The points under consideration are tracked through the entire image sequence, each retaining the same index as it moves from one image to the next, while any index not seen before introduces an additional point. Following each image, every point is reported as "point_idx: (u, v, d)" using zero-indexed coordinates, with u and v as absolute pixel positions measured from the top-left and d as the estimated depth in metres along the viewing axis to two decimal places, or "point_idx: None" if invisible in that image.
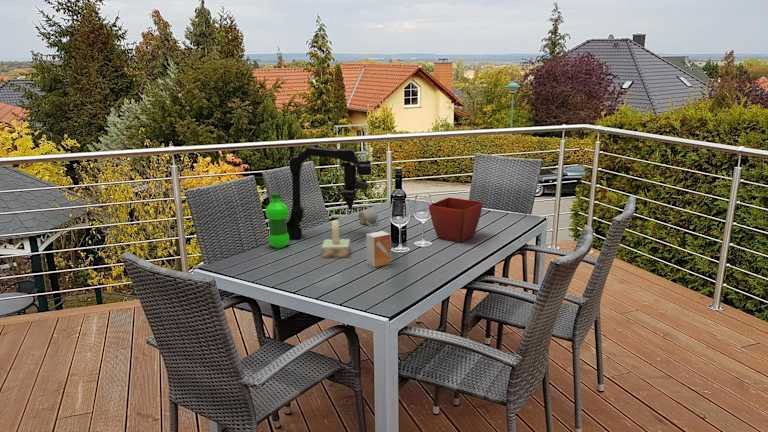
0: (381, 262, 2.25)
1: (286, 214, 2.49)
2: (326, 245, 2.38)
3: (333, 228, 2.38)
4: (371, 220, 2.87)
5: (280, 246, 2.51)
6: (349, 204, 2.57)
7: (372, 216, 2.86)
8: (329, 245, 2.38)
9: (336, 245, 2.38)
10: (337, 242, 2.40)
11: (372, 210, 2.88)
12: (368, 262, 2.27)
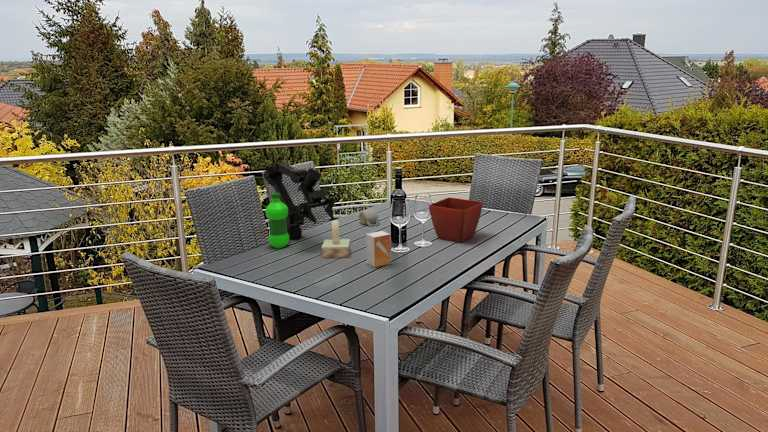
0: (381, 262, 2.25)
1: (286, 214, 2.49)
2: (326, 245, 2.38)
3: (333, 228, 2.38)
4: (372, 220, 2.86)
5: (280, 246, 2.51)
6: (311, 218, 2.42)
7: (373, 216, 2.86)
8: (329, 245, 2.38)
9: (336, 245, 2.38)
10: (337, 242, 2.40)
11: (373, 210, 2.87)
12: (368, 262, 2.27)
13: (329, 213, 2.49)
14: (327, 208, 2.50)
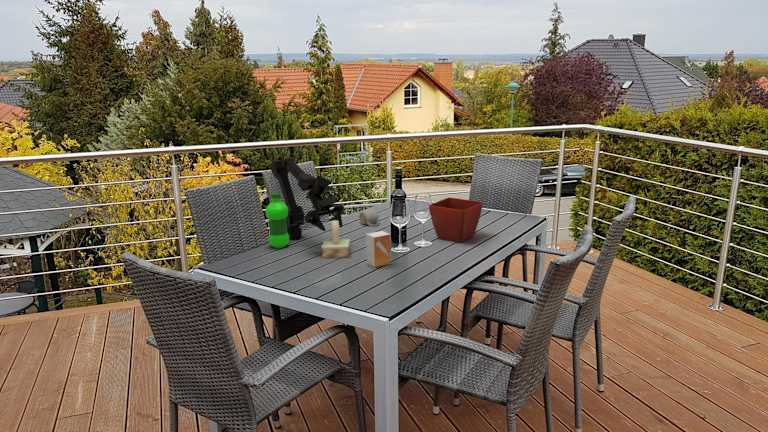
0: (381, 262, 2.25)
1: (286, 214, 2.49)
2: (326, 245, 2.38)
3: (333, 228, 2.38)
4: (372, 220, 2.86)
5: (280, 246, 2.51)
6: (319, 226, 2.38)
7: (373, 216, 2.85)
8: (329, 245, 2.38)
9: (336, 245, 2.38)
10: (337, 242, 2.40)
11: (373, 210, 2.87)
12: (368, 262, 2.27)
13: None
14: (336, 216, 2.46)
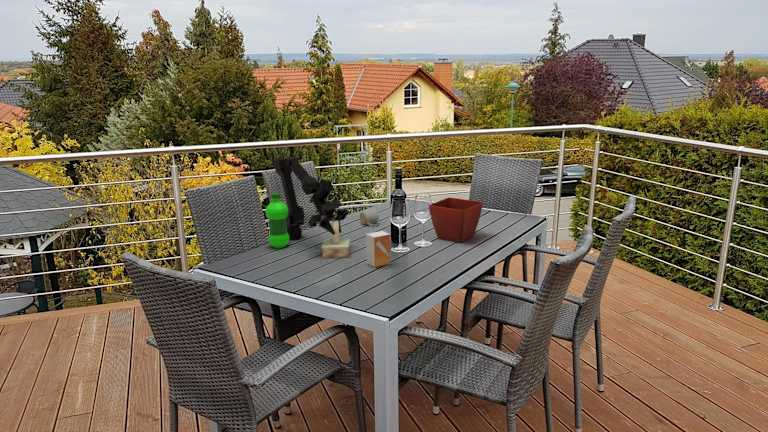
0: (381, 262, 2.25)
1: (286, 214, 2.49)
2: (326, 245, 2.38)
3: (333, 228, 2.38)
4: (372, 221, 2.86)
5: (280, 246, 2.51)
6: (329, 229, 2.38)
7: (373, 217, 2.85)
8: (329, 245, 2.38)
9: (336, 245, 2.38)
10: (337, 242, 2.40)
11: (373, 210, 2.87)
12: (368, 262, 2.27)
13: None
14: None
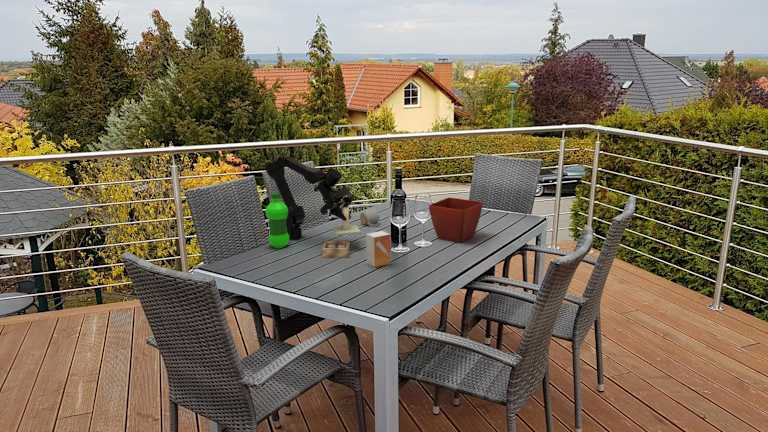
0: (381, 262, 2.25)
1: (286, 214, 2.49)
2: (338, 231, 2.45)
3: (344, 214, 2.46)
4: (373, 221, 2.85)
5: (280, 246, 2.51)
6: (340, 216, 2.45)
7: (374, 217, 2.85)
8: (341, 231, 2.45)
9: (348, 231, 2.46)
10: (348, 228, 2.48)
11: (374, 211, 2.86)
12: (368, 262, 2.27)
13: None
14: None
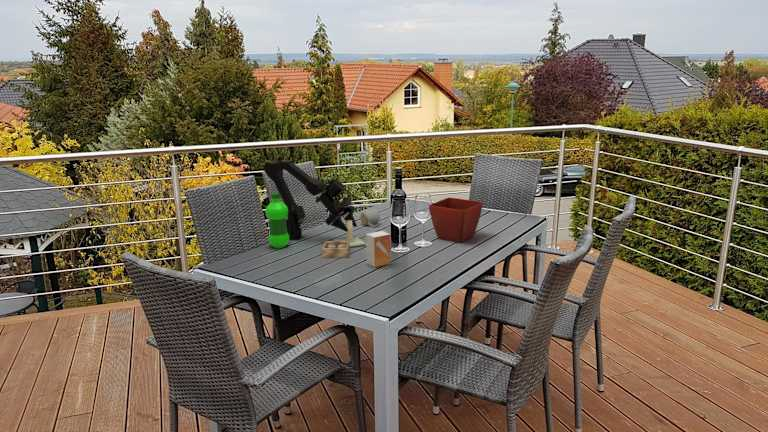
0: (381, 262, 2.25)
1: (286, 214, 2.49)
2: None
3: (348, 227, 2.52)
4: (373, 221, 2.85)
5: (280, 246, 2.51)
6: (342, 227, 2.49)
7: (374, 217, 2.84)
8: None
9: (353, 243, 2.52)
10: (352, 240, 2.54)
11: (374, 211, 2.86)
12: (368, 262, 2.27)
13: None
14: (348, 217, 2.58)
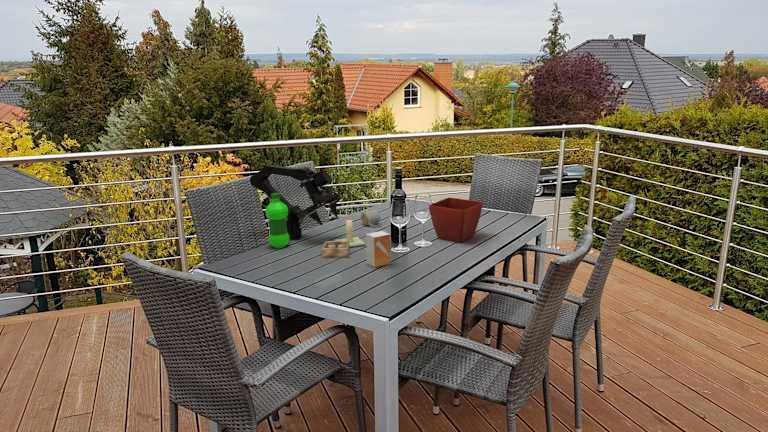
0: (381, 262, 2.25)
1: (286, 214, 2.49)
2: None
3: (348, 227, 2.52)
4: (374, 221, 2.84)
5: (280, 246, 2.51)
6: (317, 220, 2.55)
7: (375, 217, 2.84)
8: None
9: (353, 243, 2.52)
10: (352, 240, 2.54)
11: (375, 211, 2.85)
12: (368, 262, 2.27)
13: (333, 211, 2.61)
14: (331, 206, 2.61)
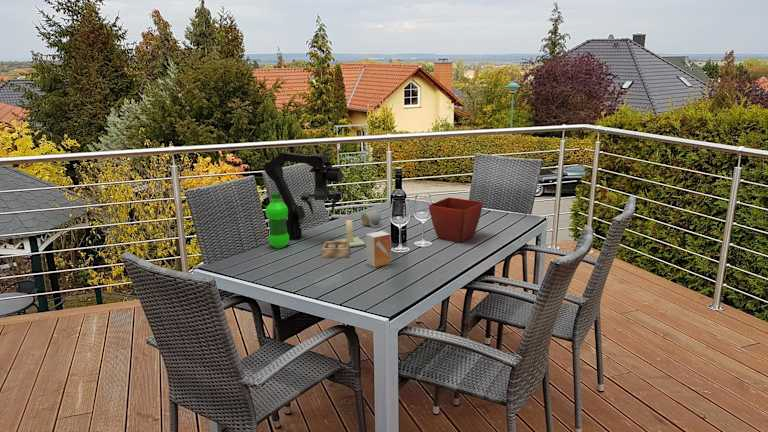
0: (381, 262, 2.25)
1: (286, 214, 2.49)
2: None
3: (348, 227, 2.52)
4: (374, 221, 2.84)
5: (280, 246, 2.51)
6: None
7: (375, 217, 2.83)
8: None
9: (353, 243, 2.52)
10: (352, 240, 2.54)
11: (375, 211, 2.85)
12: (368, 262, 2.27)
13: (332, 206, 2.58)
14: None
